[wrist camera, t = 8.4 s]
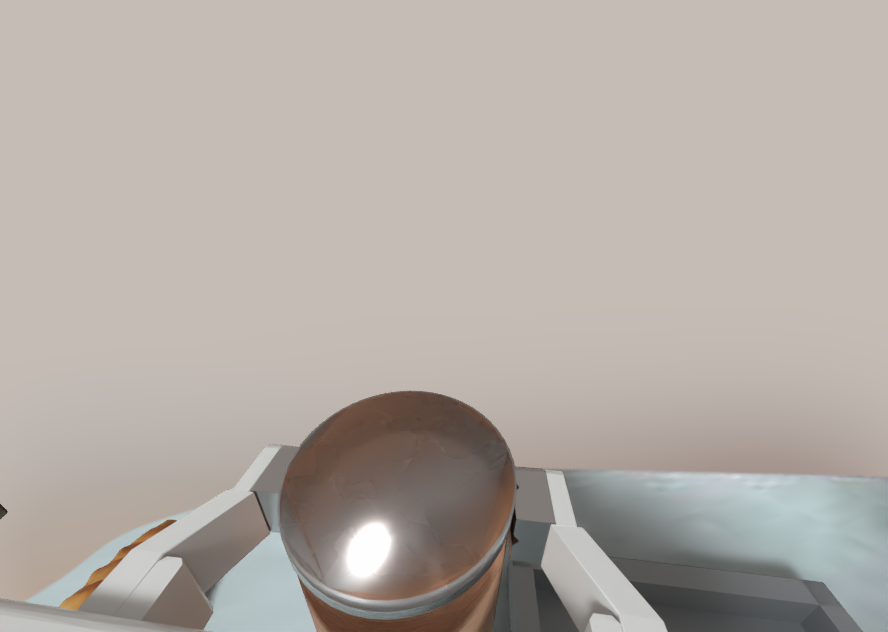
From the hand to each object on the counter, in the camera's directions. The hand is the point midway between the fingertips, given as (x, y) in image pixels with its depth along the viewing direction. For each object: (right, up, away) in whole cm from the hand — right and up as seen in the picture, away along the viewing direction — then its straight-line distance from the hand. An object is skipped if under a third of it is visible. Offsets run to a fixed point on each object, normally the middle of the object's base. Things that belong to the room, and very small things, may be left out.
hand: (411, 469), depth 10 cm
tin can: (0, -9, +3) cm, 10 cm away
